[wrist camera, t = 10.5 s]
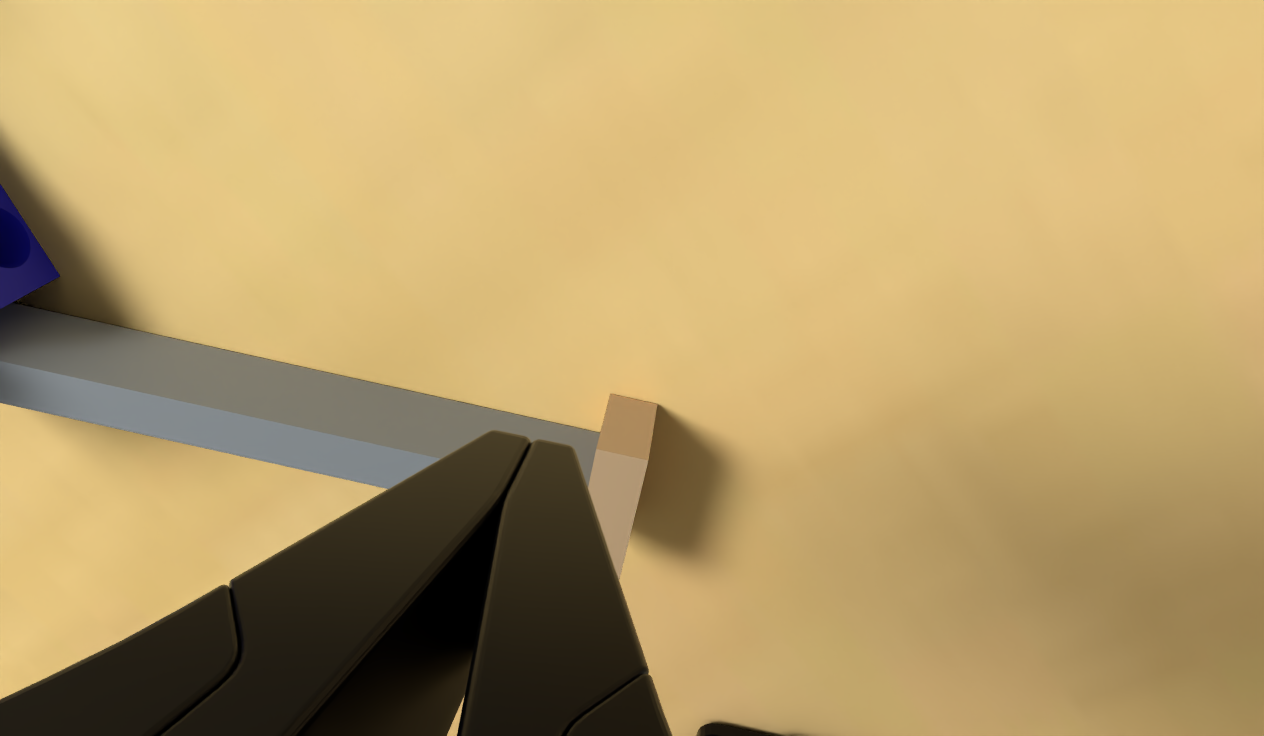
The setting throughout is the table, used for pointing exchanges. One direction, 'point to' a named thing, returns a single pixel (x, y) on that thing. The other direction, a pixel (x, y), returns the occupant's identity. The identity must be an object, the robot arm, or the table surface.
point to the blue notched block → (20, 256)
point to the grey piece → (292, 410)
